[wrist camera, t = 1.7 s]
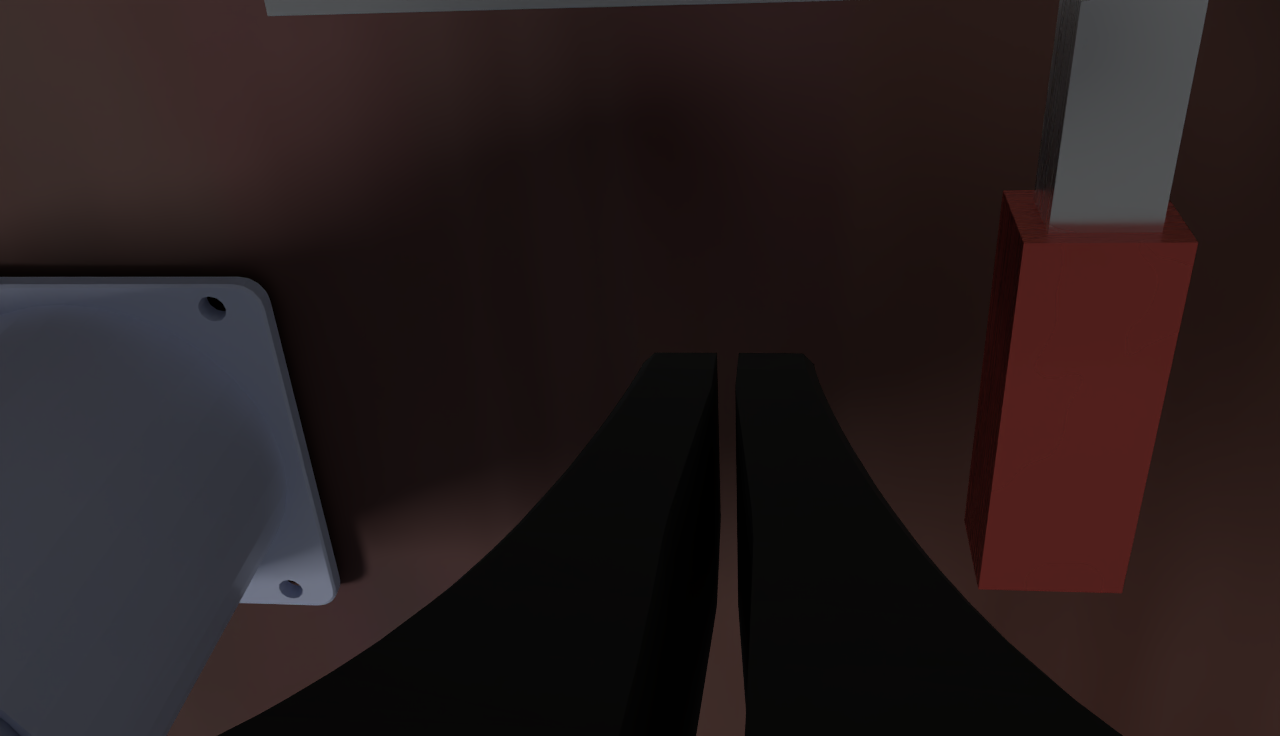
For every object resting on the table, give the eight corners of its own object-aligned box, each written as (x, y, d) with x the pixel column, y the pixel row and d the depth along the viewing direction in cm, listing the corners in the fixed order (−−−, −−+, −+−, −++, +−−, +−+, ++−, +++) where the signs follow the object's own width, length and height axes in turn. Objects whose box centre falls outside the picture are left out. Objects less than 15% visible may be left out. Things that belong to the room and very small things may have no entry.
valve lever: (1058, -586, 10) (1095, -611, 9) (1356, -609, 10) (1431, -639, 9) (943, 520, 17) (954, 588, 15) (1119, 523, 16) (1146, 593, 15)
